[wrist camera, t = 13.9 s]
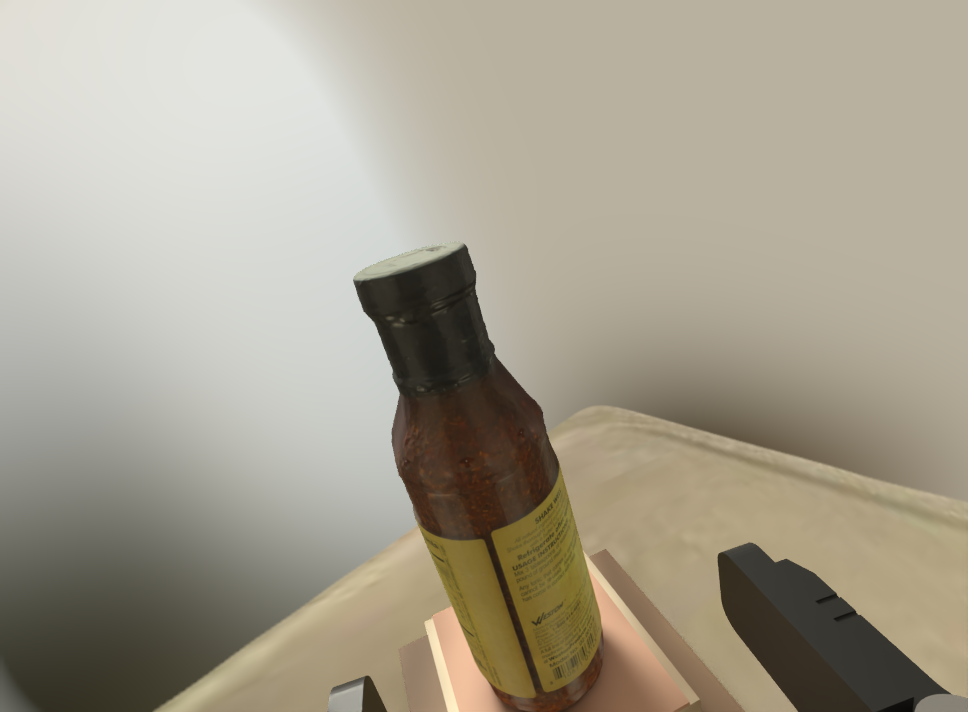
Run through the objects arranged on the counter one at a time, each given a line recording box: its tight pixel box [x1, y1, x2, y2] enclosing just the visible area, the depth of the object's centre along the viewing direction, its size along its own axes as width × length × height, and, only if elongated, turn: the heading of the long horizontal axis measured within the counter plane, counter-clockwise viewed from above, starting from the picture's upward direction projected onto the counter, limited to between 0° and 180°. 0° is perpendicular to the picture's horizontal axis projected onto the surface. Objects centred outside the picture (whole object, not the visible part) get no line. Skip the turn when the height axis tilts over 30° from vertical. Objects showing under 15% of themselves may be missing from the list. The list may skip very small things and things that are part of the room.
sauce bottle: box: [353, 242, 604, 712], centre depth 20 cm, size 6×6×20 cm
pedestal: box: [398, 549, 745, 712], centre depth 24 cm, size 14×12×4 cm
